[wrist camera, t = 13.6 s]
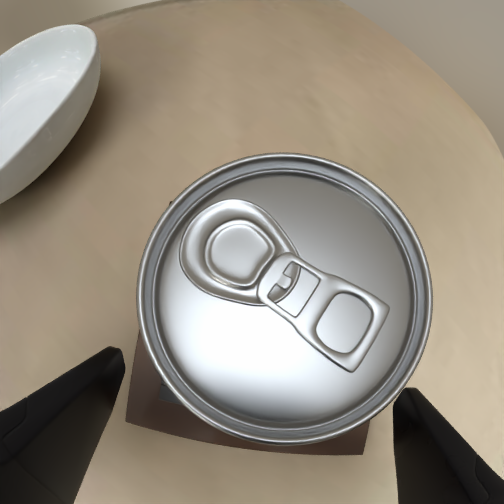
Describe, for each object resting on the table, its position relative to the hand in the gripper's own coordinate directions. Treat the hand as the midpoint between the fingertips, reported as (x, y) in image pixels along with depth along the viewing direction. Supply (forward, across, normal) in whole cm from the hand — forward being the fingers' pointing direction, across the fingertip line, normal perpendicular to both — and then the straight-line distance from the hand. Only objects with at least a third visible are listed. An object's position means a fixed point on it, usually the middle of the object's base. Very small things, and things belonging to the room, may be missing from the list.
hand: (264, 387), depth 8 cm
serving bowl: (+17, +25, -5) cm, 31 cm away
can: (+7, 0, +4) cm, 8 cm away
